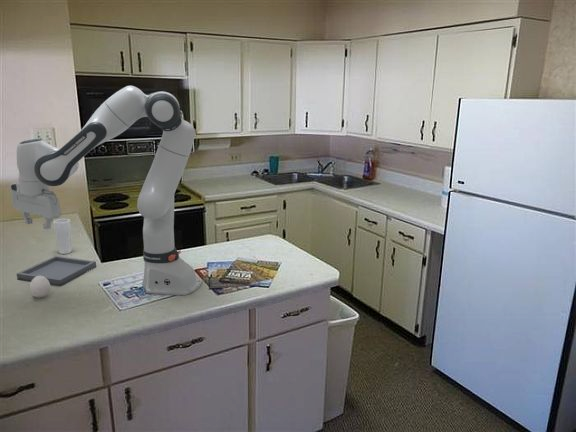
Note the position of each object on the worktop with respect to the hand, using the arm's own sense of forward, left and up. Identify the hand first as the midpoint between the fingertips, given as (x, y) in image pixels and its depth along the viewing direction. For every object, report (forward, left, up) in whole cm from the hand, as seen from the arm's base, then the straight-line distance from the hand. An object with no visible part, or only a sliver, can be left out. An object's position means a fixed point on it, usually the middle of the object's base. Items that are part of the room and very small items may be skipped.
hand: (38, 226), depth 152 cm
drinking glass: (+23, -36, -26) cm, 49 cm away
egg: (-1, +3, -26) cm, 26 cm away
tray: (+9, -16, -25) cm, 31 cm away
